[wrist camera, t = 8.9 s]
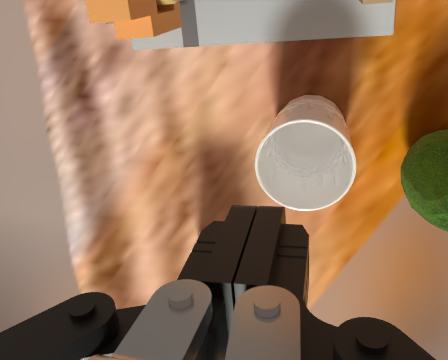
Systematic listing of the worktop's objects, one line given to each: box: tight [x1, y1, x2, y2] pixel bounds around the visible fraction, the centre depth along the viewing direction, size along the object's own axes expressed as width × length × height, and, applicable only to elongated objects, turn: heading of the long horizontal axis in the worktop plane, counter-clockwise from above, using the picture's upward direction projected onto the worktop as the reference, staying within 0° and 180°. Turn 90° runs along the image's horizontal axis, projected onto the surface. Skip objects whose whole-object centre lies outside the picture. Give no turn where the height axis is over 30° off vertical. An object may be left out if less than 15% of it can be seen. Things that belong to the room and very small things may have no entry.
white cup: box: [255, 95, 356, 211], centre depth 38 cm, size 8×8×10 cm
